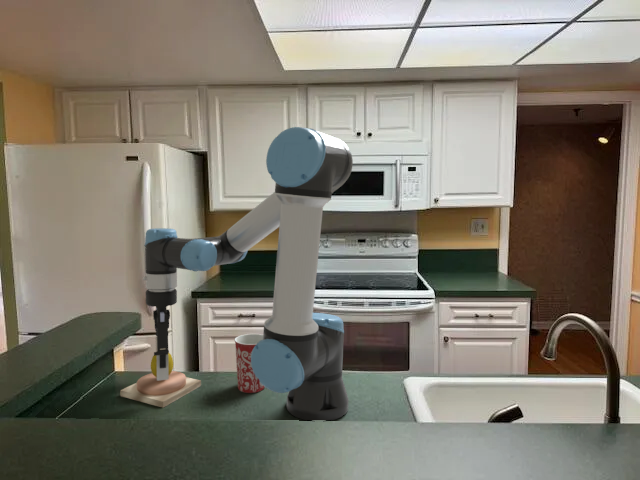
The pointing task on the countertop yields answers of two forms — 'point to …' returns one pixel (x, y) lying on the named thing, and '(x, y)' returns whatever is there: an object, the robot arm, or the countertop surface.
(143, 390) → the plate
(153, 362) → the lemon
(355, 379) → the countertop surface
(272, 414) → the countertop surface
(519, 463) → the countertop surface
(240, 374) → the mug
